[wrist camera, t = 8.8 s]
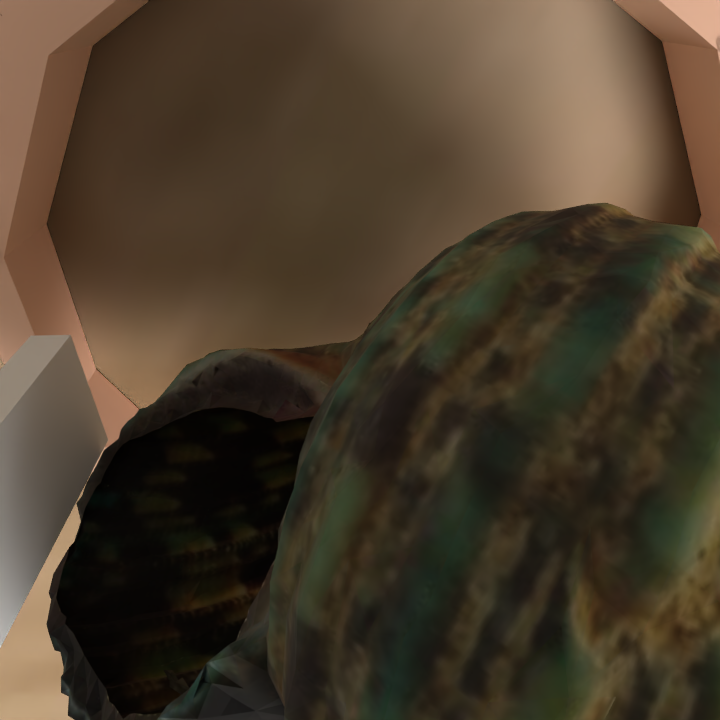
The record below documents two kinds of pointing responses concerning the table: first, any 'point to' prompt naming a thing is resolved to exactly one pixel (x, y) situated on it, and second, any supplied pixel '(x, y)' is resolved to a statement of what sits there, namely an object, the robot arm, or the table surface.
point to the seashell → (427, 503)
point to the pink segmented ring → (58, 106)
